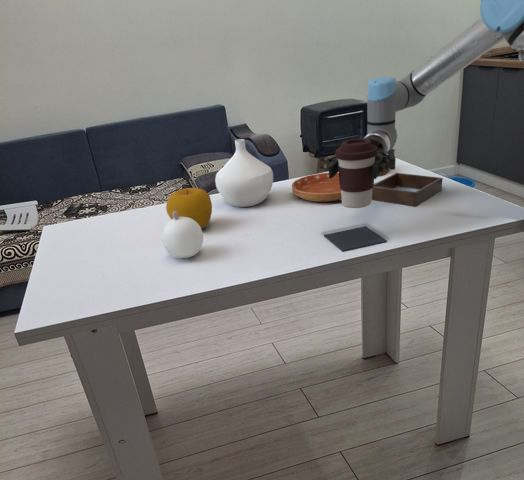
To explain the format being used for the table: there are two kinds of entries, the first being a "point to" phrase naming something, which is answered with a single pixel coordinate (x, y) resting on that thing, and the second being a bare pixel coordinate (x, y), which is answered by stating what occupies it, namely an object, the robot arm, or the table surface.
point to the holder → (410, 198)
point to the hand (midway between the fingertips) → (352, 172)
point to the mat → (354, 238)
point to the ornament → (182, 236)
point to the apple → (191, 205)
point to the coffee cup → (356, 172)
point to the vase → (244, 178)
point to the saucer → (318, 188)
